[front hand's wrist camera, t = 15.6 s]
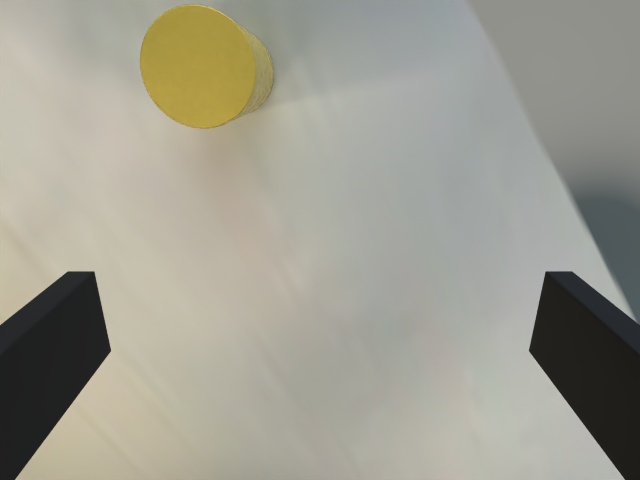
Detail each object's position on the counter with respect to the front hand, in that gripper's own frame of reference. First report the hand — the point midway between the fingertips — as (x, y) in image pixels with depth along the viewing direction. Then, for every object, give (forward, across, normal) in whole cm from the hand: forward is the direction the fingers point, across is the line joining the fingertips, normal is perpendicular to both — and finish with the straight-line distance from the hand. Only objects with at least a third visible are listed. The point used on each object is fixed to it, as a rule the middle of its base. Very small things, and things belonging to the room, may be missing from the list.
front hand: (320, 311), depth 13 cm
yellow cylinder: (+20, +6, -7) cm, 22 cm away
